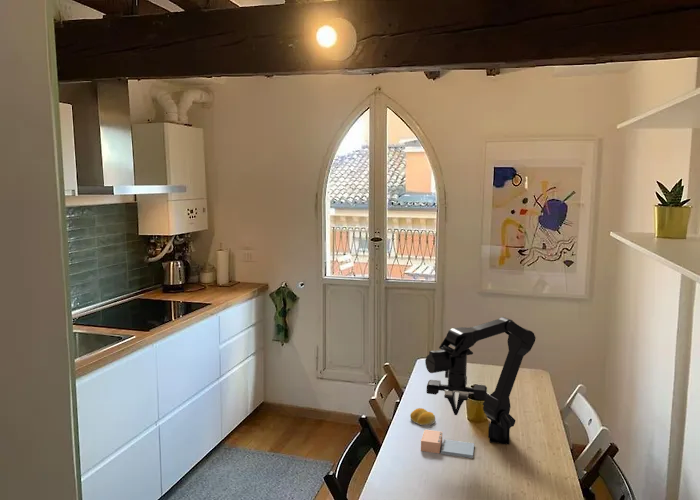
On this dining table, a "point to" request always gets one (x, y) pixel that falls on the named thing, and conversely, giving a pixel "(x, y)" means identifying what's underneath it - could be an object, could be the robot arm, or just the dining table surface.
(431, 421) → the bread roll
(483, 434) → the dining table surface
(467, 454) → the blue-grey flat panel
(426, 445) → the stub
